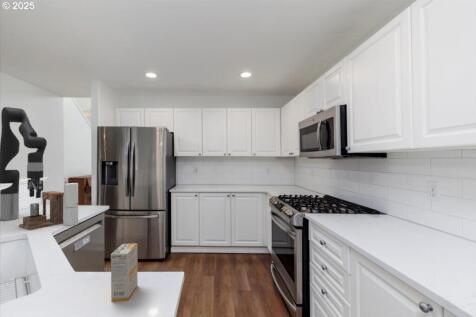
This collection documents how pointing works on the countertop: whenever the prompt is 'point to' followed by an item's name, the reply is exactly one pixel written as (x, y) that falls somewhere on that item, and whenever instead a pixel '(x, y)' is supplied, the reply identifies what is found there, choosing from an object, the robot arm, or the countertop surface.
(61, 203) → the wooden frame stand
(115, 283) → the supplement box
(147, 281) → the countertop surface
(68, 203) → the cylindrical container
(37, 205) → the steel peg
